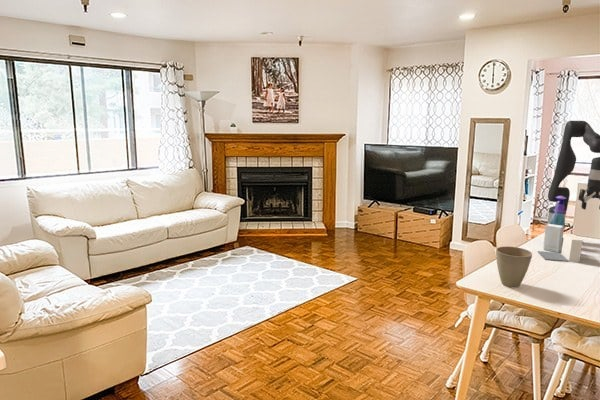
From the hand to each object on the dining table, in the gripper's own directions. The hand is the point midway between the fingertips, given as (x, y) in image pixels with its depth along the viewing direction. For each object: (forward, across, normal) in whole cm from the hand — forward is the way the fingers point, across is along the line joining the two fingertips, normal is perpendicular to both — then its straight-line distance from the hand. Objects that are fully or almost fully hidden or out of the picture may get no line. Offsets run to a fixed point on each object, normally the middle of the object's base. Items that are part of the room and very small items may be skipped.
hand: (592, 209), depth 231 cm
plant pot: (+28, +52, +37) cm, 70 cm away
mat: (+29, +13, -8) cm, 32 cm away
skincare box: (+29, +7, -20) cm, 36 cm away
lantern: (+30, 0, -31) cm, 43 cm away
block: (+29, +4, -6) cm, 30 cm away
